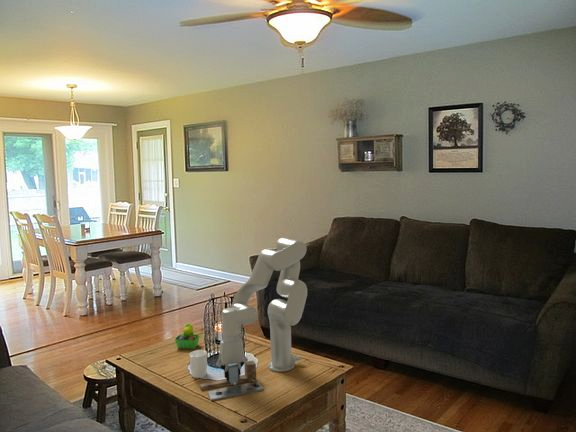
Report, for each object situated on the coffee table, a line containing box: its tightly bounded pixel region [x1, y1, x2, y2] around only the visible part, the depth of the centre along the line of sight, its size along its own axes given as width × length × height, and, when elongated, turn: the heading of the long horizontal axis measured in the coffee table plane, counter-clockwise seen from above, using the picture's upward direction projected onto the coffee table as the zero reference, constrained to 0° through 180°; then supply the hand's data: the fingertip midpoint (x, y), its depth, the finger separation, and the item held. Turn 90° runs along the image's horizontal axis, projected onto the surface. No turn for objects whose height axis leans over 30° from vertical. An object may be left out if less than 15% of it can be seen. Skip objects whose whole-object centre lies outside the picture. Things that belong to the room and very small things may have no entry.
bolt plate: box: [207, 381, 265, 402], centre depth 197 cm, size 22×7×1 cm, turn 111°
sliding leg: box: [228, 363, 239, 386], centre depth 204 cm, size 4×7×7 cm, turn 21°
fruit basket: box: [174, 322, 201, 350], centre depth 248 cm, size 11×9×11 cm
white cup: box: [188, 349, 208, 379], centre depth 214 cm, size 8×8×10 cm
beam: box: [199, 360, 257, 391], centre depth 204 cm, size 24×7×8 cm, turn 111°
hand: (232, 377), depth 205 cm, fingers closed on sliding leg, 4 cm apart
